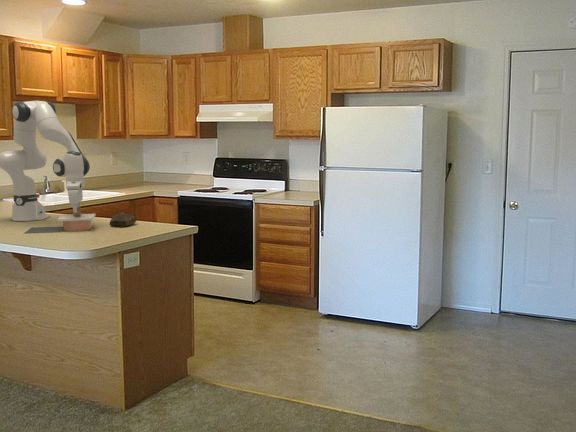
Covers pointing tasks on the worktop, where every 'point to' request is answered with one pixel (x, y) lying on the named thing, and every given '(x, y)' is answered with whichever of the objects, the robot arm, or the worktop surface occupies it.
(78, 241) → the worktop surface
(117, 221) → the stone
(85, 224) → the bowl
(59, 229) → the mat
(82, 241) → the worktop surface
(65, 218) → the white square lid
